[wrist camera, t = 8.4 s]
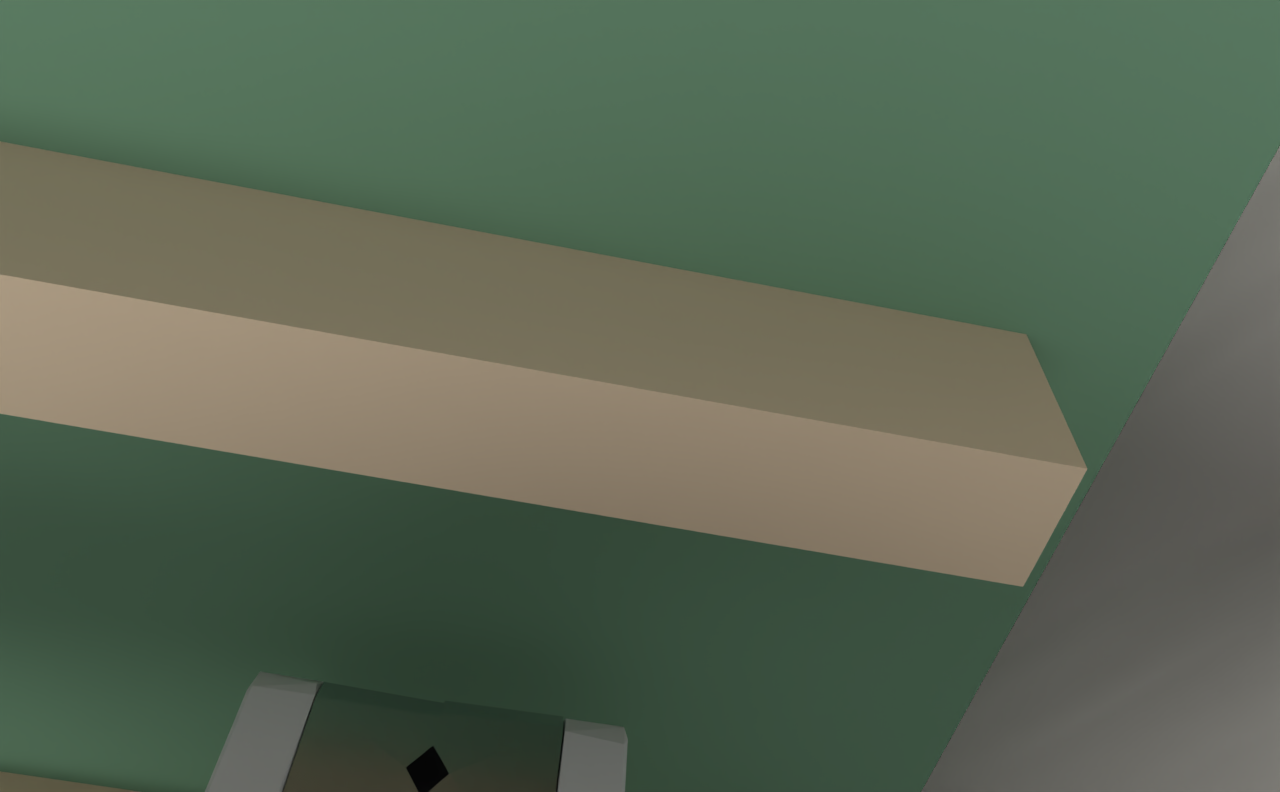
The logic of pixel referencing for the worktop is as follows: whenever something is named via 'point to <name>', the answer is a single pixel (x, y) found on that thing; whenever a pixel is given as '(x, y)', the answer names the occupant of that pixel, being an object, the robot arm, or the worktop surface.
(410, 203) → the putting mat
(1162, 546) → the worktop surface
